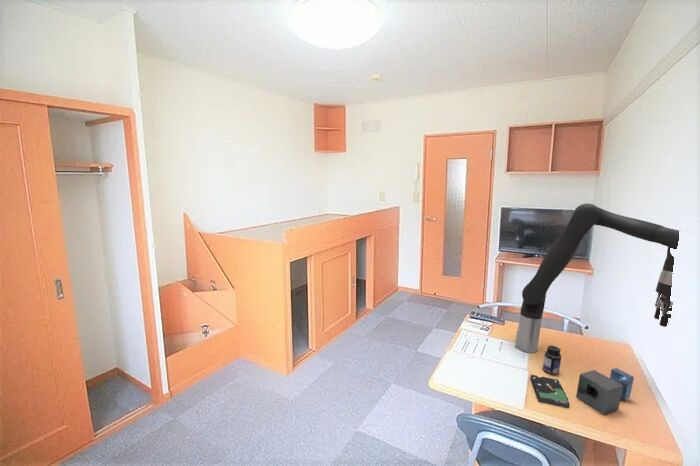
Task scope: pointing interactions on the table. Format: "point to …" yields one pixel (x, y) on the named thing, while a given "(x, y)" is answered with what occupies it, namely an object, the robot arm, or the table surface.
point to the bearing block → (599, 392)
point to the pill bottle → (552, 360)
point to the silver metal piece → (621, 382)
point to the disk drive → (549, 391)
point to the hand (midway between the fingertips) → (660, 322)
